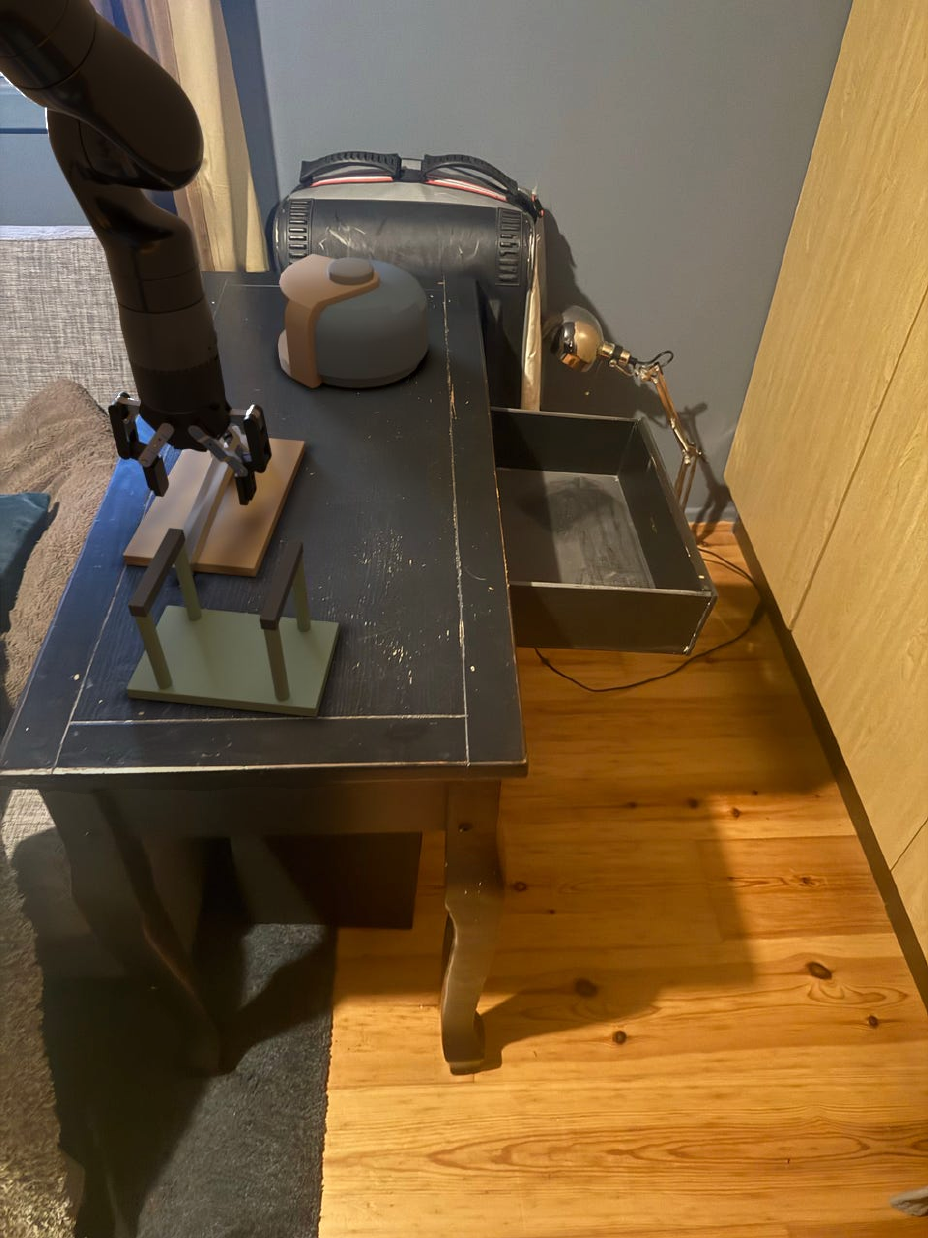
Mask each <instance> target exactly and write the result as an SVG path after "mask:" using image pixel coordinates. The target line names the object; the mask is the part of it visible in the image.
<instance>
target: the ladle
mask: <svg viewBox="0 0 928 1238" xmlns="http://www.w3.org/2000/svg"><path fill="white" fill-rule="evenodd" d="M230 427H231V428H232V429H233V430H234V431H235V432H236V433H237V434H238V435H239V437H240V441H241V443H242V444H243V445H244V446H245V447H246V448H247V449H248V450H249V447H248V443H247V439H246V435H242V434H241V431H240V430H239V427H238V426H237V425H235V426H230ZM219 442H220V443H221V444H222V445H224V439H223V438H222V437H221V439H220V440H219ZM210 454H211V457H212V460H211V462H210V465H209V467H208V470H207V472H206V474H205V477H204V479H203V482H202V484H201V486H200V489H199V491H198V494H197V496H196V498H195V501H194V503H193V506H192V508H191V510H190V513H189V515H188V518H187V520H186V522H185V525H184V527H183V532H184V536H185V542H184V545H185V549H186V553H187V557H188V561H189V565H190V569H191V572H192V576H194V574H195V572H196V571H195V568H196V566H197V563H198V561H199V558H200V555H201V553H202V550H203V548H204V545H205V543H206V540H207V537H208V535H209V532H210V530H211V527H212V524H213V522H214V519H215V517H216V514H217V512H218V509H219V506H220V504H221V501H222V499H223V496H224V494H225V491H226V488H227V486H228V483H229V481H230V478H231V475H232V473H233V469H232V468H231V467H230V466H229V465H228V464H227V463H225V462H220V461H219V460H218V459H217V458H216V457H215V456H214V455H213V454H212V453H211V452H210ZM168 575H169V577H170V578H172V579H178V576H177V573H176V569H175V565H174V564H173V566H172V568H171V570H170V572H169V574H168Z"/></svg>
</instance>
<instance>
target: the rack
mask: <svg viewBox="0 0 928 1238" xmlns="http://www.w3.org/2000/svg"><path fill="white" fill-rule="evenodd" d="M184 542H185V536H184V532H183V529H173V528H169V529H168V531H167V533H166V535H165V537H164V539H163V540H162V542H161V544H160V546H159V548H158V550H157V552H156V554H155V555H154V557H153V559H152V561H151V563H150V565H149V566H147V568H146V571H145V572H144V574H143V576H142V578H141V580H140V582H139V583H138V585H137V587H136V589H135V591H134V593H133V594H132V596H131V598H130V600H129V602H128V604H127V608H128V611H129V614H130V616H131V617H133V618H134V619H135V622H136V625H137V627H138V631H139V634H140V636H141V640H142V643H143V646H144V649H145V650H144V651H143V654H142V656H141V658H140V660H139V662H138V663H137V665H136V668H135V670H134V672H133V673H132V676H131V678H130V680H129V682H128V684H127V686H126V689H125V691H126V693H127V694H128V697H129V698H131V699H140V700H149V701H158V702H166V703H167V702H169V703H178V704H186V705H187V704H189V705H198V706H205V707H206V706H207V707H218V708H225V709H227V708H228V709H234V710H235V709H236V710H245V711H253V712H254V711H256V712H263V713H275V714H283V715H284V714H285V715H293V716H302V717H303V716H304V717H313V718H317V717H318V714H319V709H320V706H321V703H322V698H323V695H324V692H325V688H326V684H327V680H328V676H329V673H330V669H331V665H332V662H333V659H334V654H335V650H336V647H337V643H338V639H339V636H340V623H339V622H334V621H326V620H315V619H311V615H310V608H309V607H310V606H309V600H308V599H309V598H308V591H307V589H308V588H307V583H306V581H307V580H306V573H305V565H304V557H303V555H304V544H303V543H304V542H303V541H302V540H295V539H294V540H293V539H288V540H287V542H286V545H285V548H284V551H283V553H282V557H281V558H280V562H279V564H278V567H277V569H276V572H275V575H274V578H273V580H272V583H271V585H270V589H269V591H268V594H267V597H266V598H265V602H264V604H263V608H262V610H261V613H260V614H256V613H247V612H246V613H245V612H235V611H226V610H216V609H206V608H202V607H201V605H200V601H199V596H198V594H197V593H198V592H197V589H196V585H195V581H194V577H193V576H194V575H193V576H192V572H191V569H190V565H189V561H188V557H187V553H186V549H185V545H184ZM173 564H174V565H175V569H176V573H177V576H178V578H177V580H178V583H179V584H178V585H179V588H180V591H181V594H182V595H181V596H182V598H183V602H184V605H185V606H177V605H166V607H165V608H164V611H163V613H162V614H161V617H160V618H159V621H158V623H157V625H156V624H155V621H154V619H153V615H152V612H151V609H152V608H153V605H154V604H155V601H156V599H157V597H158V595H160V591H161V590H162V588H163V586H164V583H165V582H166V579H167V578H168V576H169V575H170V574H169V572H170V570H171V568H172V566H173ZM291 590H292V597H293V605H294V606H293V607H294V612H295V617H285V616H283V613H284V610H285V607H286V604H287V601H288V598H289V596H290V592H291Z"/></svg>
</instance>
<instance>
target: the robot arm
mask: <svg viewBox="0 0 928 1238" xmlns="http://www.w3.org/2000/svg"><path fill="white" fill-rule="evenodd" d="M0 74H1V76H2V77H4V79H5V80H6V81H7V82H9V84H11V85H12V86H13V87H14V88H15V89H16V90H17V91H18V92H19V93H21V94H22V95H23V96H24V97H25V98H26V99H28V100H30V101H31V102H32V103H34V104H36V105H38V106H40V107H41V108H44V109H45V123H46V131H47V135H48V139H49V144H50V147H51V150H52V151H53V155H54V157H55V160H56V162H57V164H58V167H59V169H60V171H61V173H62V175H63V177H64V179H65V181H66V182H67V184H68V186H69V188H70V190H71V192H72V194H73V195H74V197H75V199H76V201H77V203H78V205H79V207H80V209H81V210H82V212H83V214H84V216H85V218H86V220H87V222H88V224H89V225H90V227H91V229H92V231H93V233H94V234H95V236H96V238H97V239H98V241H99V243H100V245H101V246H102V249H103V251H104V255H105V259H106V264H107V268H108V272H109V276H110V279H111V283H112V287H113V291H114V295H115V298H116V303H117V311H118V320H119V326H120V331H121V335H122V338H123V343H124V347H125V350H126V354H127V358H128V362H129V366H130V370H131V373H132V377H133V381H134V385H135V389H136V393H137V397H138V398H139V399H136V398H135V399H134V398H131V395H130V394H129V393H128V392H126V391H119V392H118V393H117V394H116V396H115V397H114V399H112V402H111V403H109V405H108V407H107V412H108V416H109V421H110V425H111V429H112V430H111V431H112V434H113V438H114V443H115V448H116V451H117V455H118V457H119V458H120V459H122V460H124V461H127V460H130V459H131V460H134V461H136V462H137V463H138V464H139V465H140V466H141V468H142V471H143V475H144V479H145V482H146V485H147V488H148V489H149V490H150V491H152V492H153V495H154V497H156V496H158V497H164V495H165V493H166V491H167V490H168V488H169V481H168V474H167V469H166V466H165V462H164V461H165V460H164V458H163V457H164V456H163V455H162V454H160V452H161V451H162V449H164V447H165V445H166V444H167V445H169V446H171V447H173V450H179V451H183V450H185V449H192V450H195V451H199V452H207V450H209V451H210V452H211V453H212V454H213V455H214V456H215V457H216V458H217V459H218V460H219V461H220V462H225V463H227V464H228V465H229V466H230V467H231V468H232V469H233V470H234V471H235V472H236V474H235V482H236V488H237V493H238V499H239V504H240V505H248V504H249V501H252V500H253V497H254V495H255V493H256V490H257V485H256V479H255V472H258V473H264V472H265V470H266V468H267V465H268V462H269V460H270V459H271V457H272V452H271V447H270V442H269V438H270V437H269V433H268V428H267V424H266V418H265V414H264V408H263V407H261V406H260V405H259V404H252V405H251V406H250V407H249V409H238V408H237V409H235V408H233V407H232V406H231V405H230V403H229V401H228V400H227V397H226V388H225V386H226V385H225V382H224V375H223V370H222V363H221V359H220V352H219V347H218V341H219V340H218V333H217V331H216V328H215V323H214V318H213V314H212V311H211V307H210V305H209V302H208V297H207V294H206V290H205V286H204V280H203V274H202V269H201V263H200V256H199V251H198V246H197V241H196V237H195V234H194V231H193V229H192V228H191V226H190V225H189V223H187V221H185V219H183V218H182V217H181V216H178V215H176V214H174V213H173V212H170V211H168V210H166V209H164V208H162V207H160V206H159V205H157V204H155V203H153V201H151V200H150V199H149V198H148V197H147V196H146V194H145V193H144V191H143V190H147V191H153V192H159V193H169V192H170V193H171V192H176V191H180V190H182V189H184V188H186V187H187V186H188V185H190V184H191V183H192V182H193V181H194V180H195V179H196V177H197V175H198V174H199V172H200V170H201V168H202V165H203V161H204V153H205V152H204V151H205V142H204V141H205V140H204V139H205V138H204V133H203V129H202V126H201V125H202V124H201V123H200V118H199V116H198V114H197V111H196V109H195V106H194V105H193V103H192V101H191V100H190V98H189V97H188V95H187V94H186V92H185V91H184V88H182V86H180V84H179V83H178V82H177V80H176V79H175V78H174V77H173V76H172V75H171V74H170V73H169V72H168V71H167V70H166V69H165V68H164V67H163V66H162V65H160V64H159V62H157V61H156V60H155V58H153V57H151V55H149V54H148V53H147V52H145V50H143V49H142V48H141V47H140V46H139V45H138V44H137V43H135V42H134V41H133V40H132V39H131V38H130V37H128V36H127V34H125V33H124V32H123V31H121V30H120V29H119V28H117V27H116V26H114V25H113V24H112V23H111V22H109V20H107V19H106V18H104V17H103V16H102V15H101V14H100V13H99V12H98V10H97V9H96V8H95V6H94V5H93V3H92V2H91V1H90V0H0ZM139 416H140V418H141V419H142V420H143V421H144V422H145V423H146V424H147V425H148V426H149V427H150V428H151V429H152V430H153V431H154V434H153V435H152V437H151V438H150V440H149V441H148V442H147V443H145V442H142V441H140V436H139V431H138V427H137V423H136V420H137V418H138V417H139ZM231 424H234V425H235V426H238V427H239V430H240V431H241V434H242V435H246V439H247V443H248V447H249V450H248V449H247V448H246V447H245V446H244V445H243V444H242V443H241V441H240V437H239V435H238V434H237V433H236V432H235V431H234V430H233V429H232V428H231V427H232V426H231ZM221 437H222V438H223V439H224V445H222V444H221V443H220V442H219V440H220V439H221Z"/></svg>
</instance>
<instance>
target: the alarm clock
mask: <svg viewBox="0 0 928 1238" xmlns="http://www.w3.org/2000/svg"><path fill="white" fill-rule="evenodd" d="M278 284H279V286H280V290H281V292H282V293H283V295H284V303H285V312H284V330H283V331H282V332H281V333H280V335H279V339H278V342H277V343H278V344H277V347H278V348H277V350H278V357H279V361H280V366H281V369H282V370H283V371H284V372H285V373H286V375H288V376H289V377H290V378H291V379H293V380H295V381H297V382H299V383H301V384H302V385H305V386H306V387H308V388H311V389H314V388H317V387H319V386H320V385H321V384H325V385H330V386H337V387H343V388H358V389H359V388H361V389H363V388H371V387H373V388H374V387H380V386H384V385H387V384H391V383H395V382H398V381H400V380H402V379H404V378H406V377H408V376H409V375H410V374H411V373H413V372H414V371H415V370H416V369H417V367H418V366H419V363H420V362H421V361H422V360H423V359H424V358H425V355H426V354H427V352H428V350H429V318H430V317H429V316H430V315H429V314H430V313H429V312H430V311H429V301H428V296H427V293H426V292H425V290H424V289H423V287H422V286H421V284H420V283H419V281H418V279H417V278H416V277H414V276H413V275H412V274H411V273H410V272H408V271H407V270H404V269H402V268H401V267H398V266H397V265H395V264H391V263H389V262H384V261H382V260H377V259H370V258H359V257H341V258H332V257H328V256H324V255H320V254H316V253H311V254H309V255H307V256H306V257H303V258H301V259H299V260H297V261H295V262H294V263H292V264H290V265H288V266H287V268H285V270H284V271H283V272H282V273H281V274H280V278H279V281H278Z"/></svg>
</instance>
